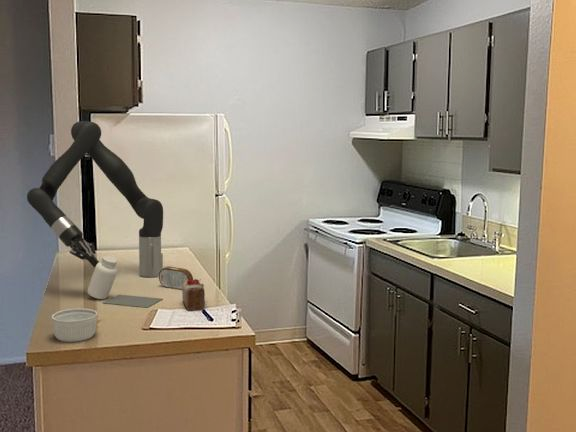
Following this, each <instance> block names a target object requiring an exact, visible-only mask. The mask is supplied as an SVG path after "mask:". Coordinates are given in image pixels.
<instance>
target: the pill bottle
mask: <svg viewBox="0 0 576 432" xmlns="http://www.w3.org/2000/svg"><path fill="white" fill-rule="evenodd" d="M117 263H118V260H117V259H116V258H115V257H113V256H110V255H104V256H102V259H101V261H99V263H97V265H96V267H94V270H93V273H92V276H91V279H90V282H89V283H88V288H87V293H88V295H89V296H91V297H93V298H95V299H98V300H104V299H107V298H108V297H109V295H110V293H111V290H112V288H113V287H112V286H113V285H114V282H115V280H116V275H117V274H118V267H117V266H116V265H117Z"/></svg>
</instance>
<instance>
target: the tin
mask: <svg viewBox="0 0 576 432" xmlns="http://www.w3.org/2000/svg"><path fill="white" fill-rule="evenodd" d="M187 280H194V276H193V274H192V273H191V271H189V270H188V269H187V268H182V267H174V266H165V267H163V269H162V270H161V271H160V272H159V276H158V281H159V283H160V285H162V287H164V288H166V289H172V290H173V289H175V290H179V291H182V286H183V281H187Z"/></svg>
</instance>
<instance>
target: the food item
mask: <svg viewBox="0 0 576 432" xmlns="http://www.w3.org/2000/svg"><path fill="white" fill-rule="evenodd" d="M200 281H201V278H200V279H197V278H195V279H194V278H193V280H187V281H183V286H182V290H181V291H182V302H183V303H184V305H185V307H186V309H187V311H188V312H189V311H191V312H193V311H204V310H205V307H206V306H205V303H206V302H205V300H206V299H205V298H206V297H205V296H206V293H205V287H204V286H205V284H204V283H201V282H200Z"/></svg>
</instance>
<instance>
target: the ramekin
mask: <svg viewBox="0 0 576 432" xmlns="http://www.w3.org/2000/svg"><path fill="white" fill-rule="evenodd" d="M97 320H98V311H96V310H94V309H91V308H82V307H80V308H69V309H64V310H59V311H57V312H54V313H53V314H52V315H51V322H52V327H53V333H54V335H55V338H57V340H58V341H59V342H65V343H75V342H81V341H85V340H89V339H91V338H92V337H94V334H95V333H96V329H97V328H96V327H97Z"/></svg>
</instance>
